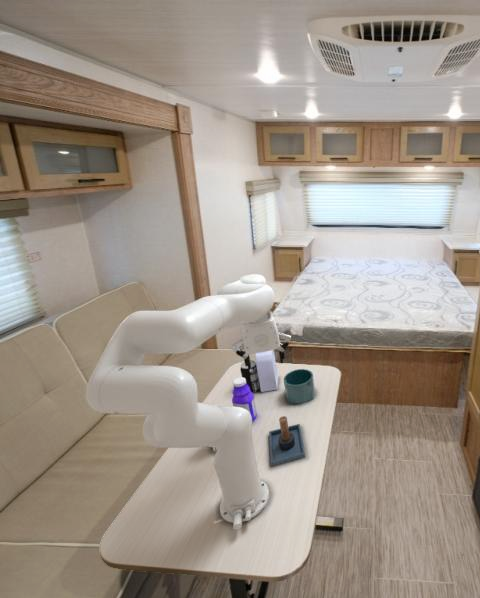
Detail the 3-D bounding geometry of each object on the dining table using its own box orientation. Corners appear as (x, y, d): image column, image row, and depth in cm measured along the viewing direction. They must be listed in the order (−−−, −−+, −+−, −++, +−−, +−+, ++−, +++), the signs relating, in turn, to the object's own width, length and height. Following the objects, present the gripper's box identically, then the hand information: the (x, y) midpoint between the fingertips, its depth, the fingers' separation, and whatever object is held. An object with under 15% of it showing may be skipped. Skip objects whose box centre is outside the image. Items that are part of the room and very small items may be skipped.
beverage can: (245, 385, 145) (240, 361, 140) (262, 382, 146) (257, 358, 142) (243, 394, 139) (238, 369, 134) (261, 391, 141) (256, 367, 136)
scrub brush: (295, 448, 113) (291, 421, 109) (279, 452, 111) (275, 426, 107) (294, 437, 117) (290, 411, 113) (278, 441, 115) (274, 415, 111)
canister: (317, 400, 136) (314, 381, 132) (287, 407, 132) (284, 388, 128) (312, 384, 145) (310, 366, 142) (285, 390, 141) (282, 372, 138)
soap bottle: (279, 389, 142) (271, 341, 133) (261, 392, 140) (252, 343, 131) (280, 377, 150) (272, 331, 141) (263, 380, 148) (254, 333, 139)
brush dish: (305, 457, 110) (304, 453, 109) (271, 467, 106) (270, 462, 105) (300, 427, 122) (299, 423, 121) (269, 435, 118) (269, 431, 118)
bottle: (260, 415, 128) (253, 376, 121) (252, 425, 123) (244, 385, 116) (242, 413, 128) (233, 374, 122) (233, 424, 123) (224, 384, 117)
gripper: (224, 325, 96) (235, 376, 103) (288, 316, 102) (295, 364, 109) (226, 315, 103) (236, 363, 109) (286, 306, 109) (292, 353, 115)
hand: (265, 364), depth 109 cm, fingers open, 9 cm apart
